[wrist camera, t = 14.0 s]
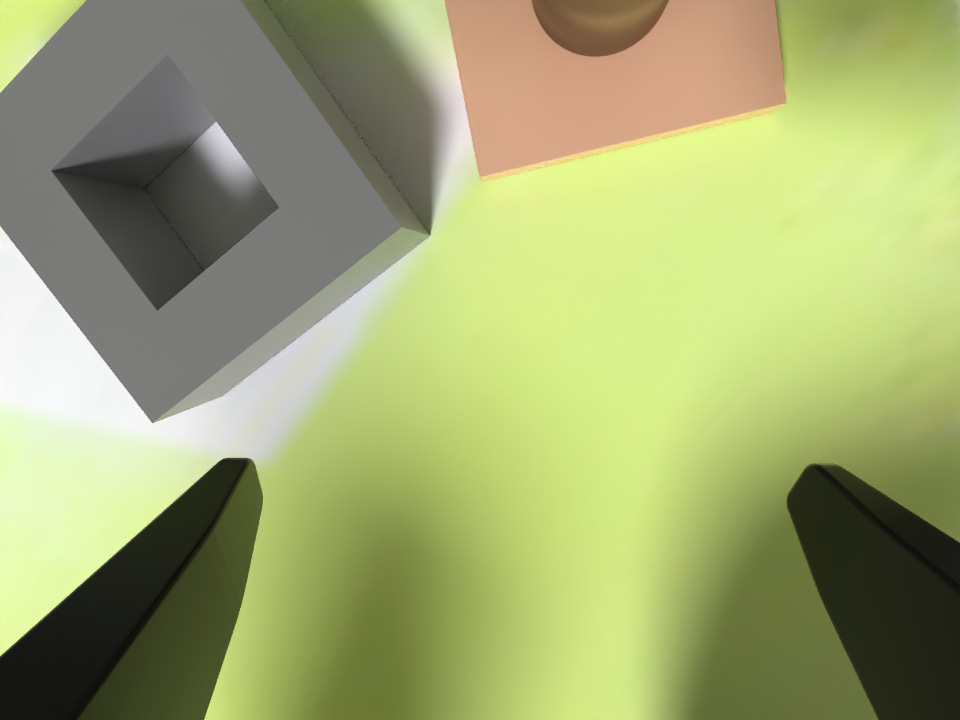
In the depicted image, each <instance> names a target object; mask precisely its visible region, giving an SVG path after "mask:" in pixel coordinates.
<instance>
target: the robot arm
mask: <svg viewBox="0 0 960 720" xmlns="http://www.w3.org/2000/svg"><path fill="white" fill-rule="evenodd" d="M262 504H263V494H262V489H261V486H260V482H259V478H258V474H257V470H256V467H255V464H254V462H253V460H252V459H249V458H225V459H223V460H221V461H219V462H218V463H217V464H216V465H215V466H213V467H212V468H211V469H210V470H209V471H208V472H207V473H206V474H204V475H203V476H202V477H201V478H200V479H199V480H198V481H197V482H195V483H194V484H193V485H192V486H191V487H190V488H189V489H188V490H187V491H185V492H184V493H183V494H182V495H181V496H180V497H179V498H178V499H176V500H175V501H174V502H173V503H172V504H171V505H170V506H169V507H167V508H166V509H165V510H164V511H163V512H162V513H161V514H160V515H158V516H157V517H156V518H155V519H154V520H153V521H152V522H151V523H149V524H148V525H147V526H146V527H145V528H144V529H143V530H142V531H140V532H139V533H138V534H137V535H136V536H135V537H134V538H133V539H131V540H130V541H129V542H128V543H127V544H126V545H125V546H124V547H122V548H121V549H120V550H119V551H118V552H117V553H116V554H115V555H113V556H112V557H111V558H110V559H109V560H108V561H107V562H106V563H104V564H103V565H102V566H101V567H100V568H99V569H98V570H97V571H95V572H94V573H93V574H92V575H91V576H90V577H89V578H88V579H86V580H85V581H84V582H83V583H82V584H81V585H80V586H79V587H77V588H76V589H75V590H74V591H73V592H72V593H71V594H70V595H69V596H67V597H66V598H65V599H64V600H63V601H62V602H61V603H60V604H58V605H57V606H56V607H55V608H54V609H53V610H52V611H51V612H49V613H48V614H47V615H46V616H45V617H44V618H43V619H42V620H40V621H39V622H38V623H37V624H36V625H35V626H34V627H33V628H31V629H30V630H29V631H28V632H27V633H26V634H25V635H24V636H22V637H21V638H20V639H19V640H18V641H17V642H16V643H15V644H13V645H12V646H11V647H10V648H9V649H8V650H7V651H6V652H4V653H3V654H2V655H1V656H0V720H204V719H205V716H206V712H207V709H208V706H209V703H210V700H211V697H212V694H213V691H214V688H215V685H216V682H217V679H218V676H219V673H220V670H221V667H222V664H223V661H224V658H225V655H226V652H227V649H228V646H229V643H230V640H231V636H232V633H233V630H234V627H235V624H236V621H237V618H238V615H239V611H240V608H241V605H242V600H243V596H244V592H245V587H246V582H247V578H248V573H249V568H250V563H251V558H252V554H253V549H254V544H255V539H256V535H257V530H258V525H259V520H260V515H261V511H262ZM787 508H788V511H789V514H790V517H791V519H792V522H793V525H794V528H795V530H796V533H797V536H798V539H799V541H800V544H801V547H802V549H803V552H804V555H805V558H806V560H807V563H808V566H809V569H810V571H811V574H812V577H813V580H814V582H815V585H816V587H817V590H818V593H819V595H820V597H821V600H822V602H823V604H824V606H825V608H826V611H827V613H828V615H829V617H830V619H831V621H832V623H833V625H834V628H835V630H836V632H837V634H838V636H839V638H840V640H841V642H842V644H843V646H844V649H845V651H846V653H847V655H848V657H849V659H850V661H851V663H852V665H853V667H854V670H855V672H856V674H857V676H858V678H859V680H860V682H861V684H862V686H863V689H864V691H865V693H866V695H867V697H868V699H869V701H870V703H871V705H872V707H873V710H874V712H875V714H876V716H877V718H878V720H960V543H959V542H957V541H956V540H954V539H953V538H951V537H950V536H948V535H947V534H945V533H943V532H942V531H940V530H939V529H937V528H936V527H934V526H933V525H931V524H929V523H928V522H926V521H925V520H923V519H922V518H920V517H919V516H917V515H915V514H914V513H912V512H911V511H909V510H908V509H906V508H905V507H903V506H901V505H900V504H898V503H897V502H895V501H894V500H892V499H890V498H889V497H887V496H886V495H884V494H883V493H881V492H880V491H878V490H876V489H875V488H873V487H872V486H870V485H869V484H867V483H866V482H864V481H862V480H861V479H859V478H858V477H856V476H855V475H853V474H852V473H850V472H848V471H847V470H845V469H844V468H842V467H840V466H839V465H836V464H829V463H813V464H810V465H808V466H807V467H806V468H805V469H804V470H803V472H802V473H801V475H800V476H799V478H798V479H797V481H796V483H795V484H794V486H793V487H792V489H791V490H790V492H789V493H788V496H787Z"/></svg>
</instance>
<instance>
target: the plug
mask: <svg viewBox="0 0 960 720" xmlns="http://www.w3.org/2000/svg"><path fill="white" fill-rule="evenodd" d="M668 1H669V0H532V5H533V8H534V11H535V15H536V17H537V19H538V21H539V23H540V25H541V26H542V28H543V30H544V31H545V32H546V33H547V35H548V36H549V37H550V38H551V39H552V40H553V41H554V42H555V43H557V44H558V45H559V46H561V47H562V48H564V49H566V50H568V51H570V52H572V53H575V54H579V55H583V56H589V57H600V56H608V55H612V54H616V53H619V52H621V51H623V50H626V49H628V48H629V47H631V46H633V45H635V44H636V43H637V42H639V41H640V40H641V39H643V38H644V37H645V36H646V35H647V34H648V33H649V32H650V31H651V29H652V28H653V27H654V26H655V25H656V23H657V22H658V20H659V19H660V17H661V16H662V14H663V12H664V10H665V8H666V6H667V3H668Z"/></svg>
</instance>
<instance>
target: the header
mask: <svg viewBox="0 0 960 720" xmlns="http://www.w3.org/2000/svg"><path fill="white" fill-rule="evenodd" d="M216 121H217V123H218V124H219V125H220V127H221V128H222V130H223V131H224V132H225V134H226V135H227V136H228V138H229V139H230V141H231V142H232V143H233V145H234V146H235V147H236V149H237V150H238V152H239V153H240V154H241V156H242V157H243V158H244V160H245V161H246V163H247V164H248V165H249V167H250V168H251V169H252V171H253V172H254V174H255V175H256V176H257V178H258V179H259V180H260V182H261V183H262V185H263V186H264V187H265V189H266V190H267V192H268V193H269V194H270V196H271V197H272V198H273V200H274V201H275V203H276V204H277V205H278V207H279V208H278V209H277V210H275V211H274V212H273V213H272V214H271V215H270V216H268V217H267V218H266V219H265V220H264V221H262V222H261V223H260V224H259V225H258V226H257V227H255V228H254V229H253V230H252V231H251V232H250V233H248V234H247V235H246V236H245V237H244V238H242V239H241V240H240V241H239V242H238V243H237V244H235V245H234V246H233V247H232V248H231V249H230V250H228V251H227V252H226V253H225V254H224V255H222V256H221V257H220V258H219V259H218V260H217V261H215V262H214V263H213V264H212V265H211V266H210V267H208V268H207V269H206V270H205V271H204V270H203V269H202V267H201V266H200V265H199V263H198V262H197V261H196V259H195V258H194V257H193V255H192V254H191V253H190V251H189V250H188V249H187V247H186V246H185V245H184V243H183V242H182V241H181V239H180V238H179V237H178V235H177V234H176V233H175V231H174V230H173V229H172V227H171V226H170V225H169V223H168V222H167V220H166V219H165V218H164V216H163V215H162V214H161V212H160V211H159V210H158V208H157V207H156V206H155V204H154V203H153V202H152V200H151V199H150V198H149V196H148V195H147V194H146V192H145V191H144V190H143V188H145V187H146V186H147V185H148V184H149V183H150V182H151V181H152V180H153V179H154V178H155V177H156V176H157V175H159V174H160V173H161V172H162V171H163V170H164V169H165V168H166V167H167V166H168V165H169V164H170V163H171V162H173V161H174V160H175V159H176V158H177V157H178V156H179V155H180V154H181V153H182V152H183V151H184V150H185V149H187V148H188V147H189V146H190V145H191V144H192V143H193V142H194V141H195V140H196V139H197V138H198V137H199V136H201V135H202V134H203V133H204V132H205V131H206V130H207V129H208V128H209V127H210V126H211V125H212V124H213V123H215V122H216ZM0 226H1V227H2V229H3V230H4V231H5V233H6V234H7V235H8V236H9V238H10V239H11V240H12V242H13V243H14V244H15V246H16V247H17V248H18V249H19V251H20V252H21V253H22V255H23V256H24V257H25V258H26V260H27V261H28V262H29V264H30V265H31V266H32V268H33V269H34V270H35V271H36V273H37V274H38V275H39V277H40V278H41V279H42V281H43V282H44V283H45V284H46V286H47V287H48V288H49V290H50V291H51V292H52V293H53V295H54V296H55V297H56V299H57V300H58V301H59V303H60V304H61V305H62V306H63V308H64V309H65V310H66V312H67V313H68V314H69V316H70V317H71V318H72V319H73V321H74V322H75V323H76V325H77V326H78V327H79V328H80V330H81V331H82V332H83V334H84V335H85V336H86V338H87V339H88V340H89V341H90V343H91V344H92V345H93V347H94V348H95V349H96V351H97V352H98V353H99V354H100V356H101V357H102V358H103V360H104V361H105V362H106V363H107V365H108V366H109V367H110V369H111V370H112V371H113V373H114V374H115V375H116V376H117V378H118V379H119V380H120V382H121V383H122V384H123V386H124V387H125V388H126V389H127V391H128V392H129V393H130V395H131V396H132V397H133V398H134V400H135V401H136V402H137V404H138V405H139V406H140V408H141V409H142V410H143V411H144V413H145V414H146V415H147V417H148V418H149V419H150V420H151V422H152V423H154V422H157V421H159V420H162V419H165V418H167V417H170V416H172V415H175V414H177V413H180V412H183V411H185V410H188V409H190V408H193V407H195V406H198V405H201V404H203V403H206V402H208V401H211V400H214V399H216V398H219V397H221V396H223V395H224V394H226V393H227V392H228V391H229V390H231V389H232V388H233V387H235V386H236V385H237V384H239V383H240V382H241V381H242V380H244V379H245V378H246V377H248V376H249V375H250V374H252V373H253V372H254V371H255V370H257V369H258V368H259V367H261V366H262V365H263V364H264V363H266V362H267V361H268V360H270V359H271V358H272V357H274V356H275V355H276V354H277V353H279V352H280V351H281V350H283V349H284V348H285V347H287V346H288V345H289V344H290V343H292V342H293V341H294V340H296V339H297V338H298V337H299V336H301V335H302V334H303V333H305V332H306V331H307V330H309V329H310V328H311V327H312V326H314V325H315V324H316V323H318V322H319V321H320V320H322V319H323V318H324V317H325V316H327V315H328V314H329V313H331V312H332V311H333V310H335V309H336V308H337V307H338V306H340V305H341V304H342V303H344V302H345V301H346V300H347V299H349V298H350V297H351V296H353V295H354V294H355V293H357V292H358V291H359V290H360V289H362V288H363V287H364V286H366V285H367V284H368V283H370V282H371V281H372V280H373V279H375V278H376V277H377V276H379V275H380V274H381V273H382V272H384V271H385V270H386V269H388V268H389V267H390V266H392V265H393V264H394V263H395V262H397V261H398V260H399V259H401V258H402V257H403V256H405V255H406V254H407V253H408V252H410V251H411V250H412V249H414V248H415V247H416V246H417V245H419V244H420V243H421V242H423V241H424V240H425V239H427V238H428V237H429V236H430V235H429V233H428V232H427V230H426V229H425V228H424V226H423V225H422V223H421V222H420V220H419V219H418V218H417V216H416V215H415V213H414V212H413V211H412V209H411V208H410V206H409V205H408V203H407V202H406V201H405V199H404V198H403V196H402V195H401V194H400V192H399V191H398V189H397V188H396V186H395V185H394V184H393V182H392V181H391V179H390V178H389V177H388V175H387V174H386V172H385V171H384V169H383V168H382V167H381V165H380V164H379V162H378V161H377V160H376V158H375V157H374V155H373V154H372V152H371V151H370V150H369V148H368V147H367V145H366V144H365V143H364V141H363V140H362V138H361V137H360V135H359V134H358V133H357V131H356V130H355V128H354V127H353V126H352V124H351V123H350V121H349V120H348V118H347V117H346V116H345V114H344V113H343V111H342V110H341V109H340V107H339V106H338V104H337V103H336V101H335V100H334V99H333V97H332V96H331V94H330V93H329V92H328V90H327V89H326V87H325V86H324V84H323V83H322V82H321V80H320V79H319V77H318V76H317V75H316V73H315V72H314V70H313V69H312V67H311V66H310V65H309V63H308V62H307V60H306V59H305V58H304V56H303V55H302V53H301V52H300V50H299V49H298V48H297V46H296V45H295V43H294V42H293V41H292V39H291V38H290V36H289V35H288V33H287V32H286V31H285V29H284V28H283V26H282V25H281V24H280V22H279V21H278V19H277V18H276V16H275V15H274V14H273V12H272V11H271V9H270V8H269V7H268V5H267V4H266V2H265V1H264V0H86V1H85V3H84V4H83V5H82V6H81V7H80V8H79V9H78V10H77V11H76V12H75V13H74V14H73V15H72V16H71V18H70V19H69V20H68V21H67V22H66V23H65V24H64V25H63V26H62V27H61V28H60V29H59V30H58V32H57V33H56V34H55V35H54V36H53V37H52V38H51V39H50V40H49V41H48V42H47V43H46V44H45V46H44V47H43V48H42V49H41V50H40V51H39V52H38V53H37V54H36V55H35V56H34V57H33V58H32V59H31V61H30V62H29V63H28V64H27V65H26V66H25V67H24V68H23V69H22V70H21V71H20V72H19V73H18V75H17V76H16V77H15V78H14V79H13V80H12V81H11V82H10V83H9V84H8V85H7V86H6V87H5V88H4V90H3V91H2V92H1V93H0Z"/></svg>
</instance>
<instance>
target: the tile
mask: <svg viewBox="0 0 960 720" xmlns="http://www.w3.org/2000/svg"><path fill="white" fill-rule="evenodd" d="M445 4H446V9H447V14H448V19H449V24H450V30H451V35H452V40H453V45H454V50H455V55H456V60H457V65H458V70H459V75H460V80H461V85H462V90H463V95H464V100H465V106H466V111H467V116H468V121H469V126H470V131H471V136H472V141H473V146H474V151H475V156H476V161H477V166H478V171H479V177H480V178H481V180H482V181H487V180H491V179H495V178H499V177H503V176H508V175H512V174H516V173H520V172H524V171H528V170H533V169H537V168H541V167H545V166H549V165H553V164H558V163H562V162H566V161H570V160H574V159H578V158H583V157H587V156H591V155H595V154H599V153H603V152H608V151H612V150H616V149H620V148H624V147H629V146H633V145H637V144H641V143H645V142H649V141H654V140H658V139H662V138H666V137H670V136H674V135H679V134H683V133H687V132H691V131H695V130H699V129H704V128H708V127H712V126H716V125H720V124H724V123H729V122H733V121H737V120H741V119H745V118H749V117H754V116H758V115H762V114H766V113H770V112H774V111H776V110H777V109H779V108H780V107H781V106H783V105H784V104H786V96H785V87H784V78H783V69H782V60H781V51H780V42H779V33H778V24H777V15H776V6H775V0H669V1H668V3H667V6H666V8H665V10H664V12H663V14H662V16H661V17H660V19H659V20H658V22H657V23H656V25H655V26H654V27H653V28H652V29H651V31H650V32H649V33H648V34H647V35H646V36H645V37H644V38H643V39H641V40H640V41H639V42H637V43H636V44H635V45H633V46H631V47H629V48H628V49H626V50H623V51H621V52H619V53H616V54H612V55H608V56H600V57H589V56H583V55H579V54H575V53H572V52H570V51H568V50H566V49H564V48H562V47H561V46H559V45H558V44H557V43H555V42H554V41H553V40H552V39H551V38H550V37H549V36H548V35H547V33H546V32H545V31H544V30H543V28H542V26H541V25H540V23H539V21H538V19H537V17H536V15H535V11H534V8H533V5H532V0H445Z"/></svg>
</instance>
